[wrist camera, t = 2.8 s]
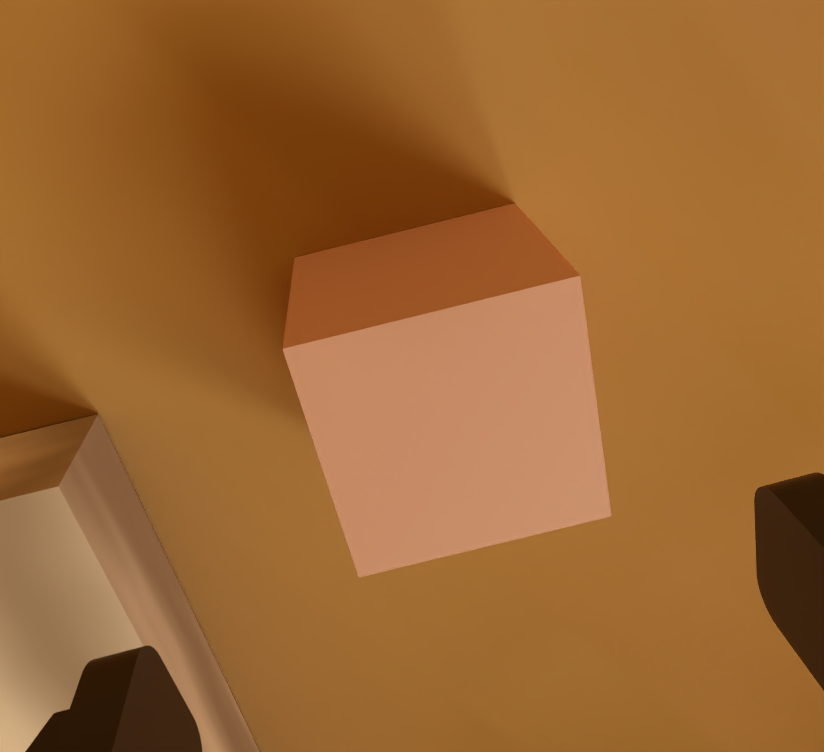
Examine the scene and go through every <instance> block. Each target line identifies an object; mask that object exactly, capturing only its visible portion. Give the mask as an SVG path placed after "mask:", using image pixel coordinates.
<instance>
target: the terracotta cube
mask: <svg viewBox="0 0 824 752" xmlns="http://www.w3.org/2000/svg"><path fill="white" fill-rule="evenodd" d="M282 349H283V352H284V355H285V358H286V361H287V364H288V367H289V370H290V373H291V376H292V379H293V382H294V385H295V388H296V391H297V394H298V397H299V400H300V403H301V406H302V409H303V412H304V415H305V418H306V421H307V424H308V427H309V430H310V433H311V436H312V439H313V442H314V445H315V448H316V451H317V454H318V457H319V460H320V463H321V466H322V469H323V472H324V475H325V478H326V481H327V484H328V487H329V490H330V493H331V496H332V499H333V502H334V505H335V508H336V511H337V514H338V517H339V520H340V523H341V526H342V529H343V532H344V535H345V538H346V541H347V544H348V547H349V550H350V553H351V556H352V559H353V562H354V565H355V568H356V571H357V574H358V577H363V576H367V575H372V574H376V573H380V572H384V571H388V570H392V569H396V568H400V567H405V566H409V565H413V564H417V563H421V562H425V561H429V560H433V559H438V558H442V557H446V556H450V555H454V554H458V553H462V552H466V551H471V550H475V549H479V548H483V547H487V546H491V545H495V544H499V543H504V542H508V541H512V540H516V539H520V538H524V537H528V536H532V535H537V534H541V533H545V532H549V531H553V530H557V529H561V528H565V527H570V526H574V525H578V524H582V523H586V522H590V521H594V520H598V519H603V518H607V517H611V509H610V501H609V494H608V486H607V478H606V471H605V463H604V455H603V447H602V440H601V432H600V424H599V416H598V409H597V401H596V393H595V385H594V378H593V370H592V362H591V354H590V347H589V339H588V331H587V324H586V316H585V308H584V300H583V293H582V285H581V277H580V275H579V274H578V272H577V271H576V270H575V269H574V268H573V267H572V266H571V265H570V264H569V262H568V261H567V260H566V259H565V258H564V257H563V256H562V255H561V254H560V253H559V251H558V250H557V249H556V248H555V247H554V246H553V245H552V244H551V243H550V241H549V240H548V239H547V238H546V237H545V236H544V235H543V234H542V233H541V231H540V230H539V229H538V228H537V227H536V226H535V225H534V224H533V223H532V221H531V220H530V219H529V218H528V217H527V216H526V215H525V214H524V213H523V211H522V210H521V209H520V208H519V207H518V206H517V205H516V204H515V203H513V204H509V205H505V206H501V207H497V208H493V209H489V210H485V211H481V212H477V213H473V214H469V215H465V216H461V217H457V218H453V219H449V220H444V221H440V222H436V223H432V224H428V225H424V226H420V227H416V228H412V229H408V230H404V231H400V232H396V233H392V234H388V235H384V236H380V237H376V238H372V239H368V240H364V241H360V242H356V243H352V244H348V245H344V246H340V247H336V248H332V249H328V250H324V251H320V252H316V253H312V254H308V255H303V256H299V257H295V258H294V264H293V272H292V279H291V287H290V295H289V302H288V310H287V317H286V325H285V333H284V340H283V348H282Z"/></svg>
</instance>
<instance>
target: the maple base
mask: <svg viewBox="0 0 824 752" xmlns="http://www.w3.org/2000/svg"><path fill="white" fill-rule="evenodd" d="M148 645H149V646H152V647H153V648H155V650H156V651H157V652H158V654H159V655H160V657H161V659H162V660H163V662H164V664H165V666H166V668H167V670H168V671H169V673H170V675H171V677H172V679H173V681H174V682H175V684H176V686H177V688H178V690H179V691H180V693H181V695H182V697H183V699H184V701H185V702H186V704H187V706H188V708H189V710H190V712H191V713H192V715H193V717H194V719H195V721H196V724H197V726H198V730H199V733H200V738H201V744H202V752H260V751H259V749H258V747H257V745H256V743H255V741H254V739H253V737H252V735H251V732H250V730H249V728H248V726H247V724H246V722H245V720H244V718H243V716H242V714H241V712H240V709H239V707H238V705H237V703H236V701H235V699H234V697H233V695H232V693H231V691H230V688H229V686H228V684H227V682H226V680H225V678H224V676H223V674H222V672H221V670H220V668H219V665H218V663H217V661H216V659H215V657H214V655H213V653H212V651H211V649H210V647H209V645H208V642H207V640H206V638H205V636H204V634H203V632H202V630H201V628H200V626H199V624H198V621H197V619H196V617H195V615H194V613H193V611H192V609H191V607H190V605H189V603H188V601H187V598H186V596H185V594H184V592H183V590H182V588H181V586H180V584H179V582H178V580H177V578H176V575H175V573H174V571H173V569H172V567H171V565H170V563H169V561H168V559H167V557H166V554H165V552H164V550H163V548H162V546H161V544H160V542H159V540H158V538H157V536H156V534H155V531H154V529H153V527H152V525H151V523H150V521H149V519H148V517H147V515H146V513H145V510H144V508H143V506H142V504H141V502H140V500H139V498H138V496H137V494H136V492H135V490H134V487H133V485H132V483H131V481H130V479H129V477H128V475H127V473H126V471H125V469H124V467H123V464H122V462H121V460H120V458H119V456H118V454H117V452H116V450H115V448H114V446H113V443H112V441H111V439H110V437H109V435H108V433H107V431H106V429H105V427H104V425H103V423H102V420H101V418H100V416H99V414H96V415H92V416H88V417H84V418H80V419H76V420H72V421H68V422H64V423H59V424H55V425H51V426H47V427H43V428H39V429H35V430H31V431H27V432H23V433H19V434H15V435H11V436H7V437H3V438H0V752H25V751H26V750H27V749H28V747H29V746H30V745H31V743H32V742H33V741H34V739H35V738H36V736H37V735H38V734H39V732H40V731H41V730H42V728H43V727H44V726H45V724H46V723H47V722H48V720H49V719H50V718H51V716H52V715H53V713H56V712H60V711H63V710H67V709H70V706H71V704H72V701H73V698H74V695H75V692H76V689H77V686H78V683H79V680H80V677H81V674H82V672H83V670H84V668H85V666H86V664H87V663H88V662H89V661H91V660H93V659H97V658H101V657H104V656H108V655H112V654H116V653H120V652H123V651H127V650H131V649H135V648H139V647H143V646H148Z"/></svg>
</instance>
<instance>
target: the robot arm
mask: <svg viewBox="0 0 824 752" xmlns="http://www.w3.org/2000/svg"><path fill="white" fill-rule="evenodd" d="M754 504H755V535H756V565H757V580H758V585H759V589H760V592H761V595H762V598H763V601H764V603H765V606H766V608H767V610H768V612H769V614H770V616H771V618H772V619H773V621H774V622H775V624H776V625H777V627H778V628H779V630H780V631H781V632H782V634H783V635H784V637H785V638H786V639H787V641H788V642H789V643H790V645H791V646H792V648H793V649H794V650H795V652H796V653H797V654H798V656H799V657H800V659H801V660H802V661H803V663H804V664H805V665H806V667H807V668H808V670H809V671H810V672H811V674H812V675H813V676H814V678H815V679H816V681H817V682H818V683H819V685H820V686H821V687H822V689H823V690H824V475H823V474H821V473H812V474H808V475H804V476H800V477H796V478H793V479H789V480H785V481H781V482H777V483H773V484H770V485H766V486H762V487H759V488H758V489H757V490H756V493H755V500H754ZM25 752H202V744H201V738H200V733H199V730H198V726H197V724H196V721H195V719H194V717H193V715H192V713H191V712H190V710H189V708H188V706H187V704H186V702H185V701H184V699H183V697H182V695H181V693H180V691H179V690H178V688H177V686H176V684H175V682H174V681H173V679H172V677H171V675H170V673H169V671H168V670H167V668H166V666H165V664H164V662H163V660H162V659H161V657H160V655H159V654H158V652H157V651H156V650H155V648H153V647H152V646H149V645H148V646H143V647H139V648H135V649H131V650H127V651H123V652H120V653H116V654H112V655H108V656H104V657H101V658H97V659H93V660H91V661H89V662H88V663H87V664H86V666H85V668H84V670H83V672H82V674H81V677H80V680H79V683H78V686H77V689H76V692H75V695H74V698H73V701H72V704H71V706H70V709H67V710H63V711H60V712H56V713H53V715H52V716H51V718H50V719H49V720H48V722H47V723H46V724H45V726H44V727H43V728H42V730H41V731H40V732H39V734H38V735H37V736H36V738H35V739H34V741H33V742H32V743H31V745H30V746H29V747H28V749H27V750H26V751H25Z"/></svg>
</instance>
